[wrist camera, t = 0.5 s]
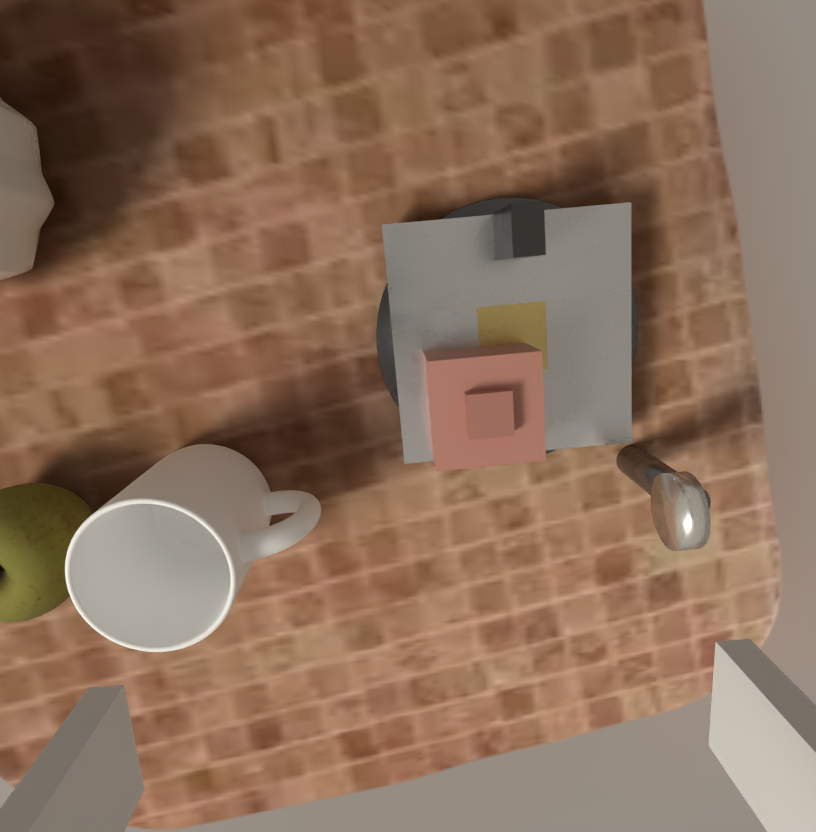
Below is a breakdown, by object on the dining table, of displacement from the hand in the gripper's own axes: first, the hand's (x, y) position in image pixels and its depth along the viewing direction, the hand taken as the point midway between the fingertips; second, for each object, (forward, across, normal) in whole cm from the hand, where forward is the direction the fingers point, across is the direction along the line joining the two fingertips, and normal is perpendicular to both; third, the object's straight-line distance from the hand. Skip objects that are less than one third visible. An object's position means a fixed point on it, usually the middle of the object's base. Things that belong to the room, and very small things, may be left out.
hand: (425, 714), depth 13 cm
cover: (+23, +5, +2) cm, 24 cm away
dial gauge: (+26, +15, -3) cm, 30 cm away
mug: (+26, -11, -4) cm, 28 cm away
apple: (+26, -23, -5) cm, 35 cm away
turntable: (+24, +7, +6) cm, 26 cm away
